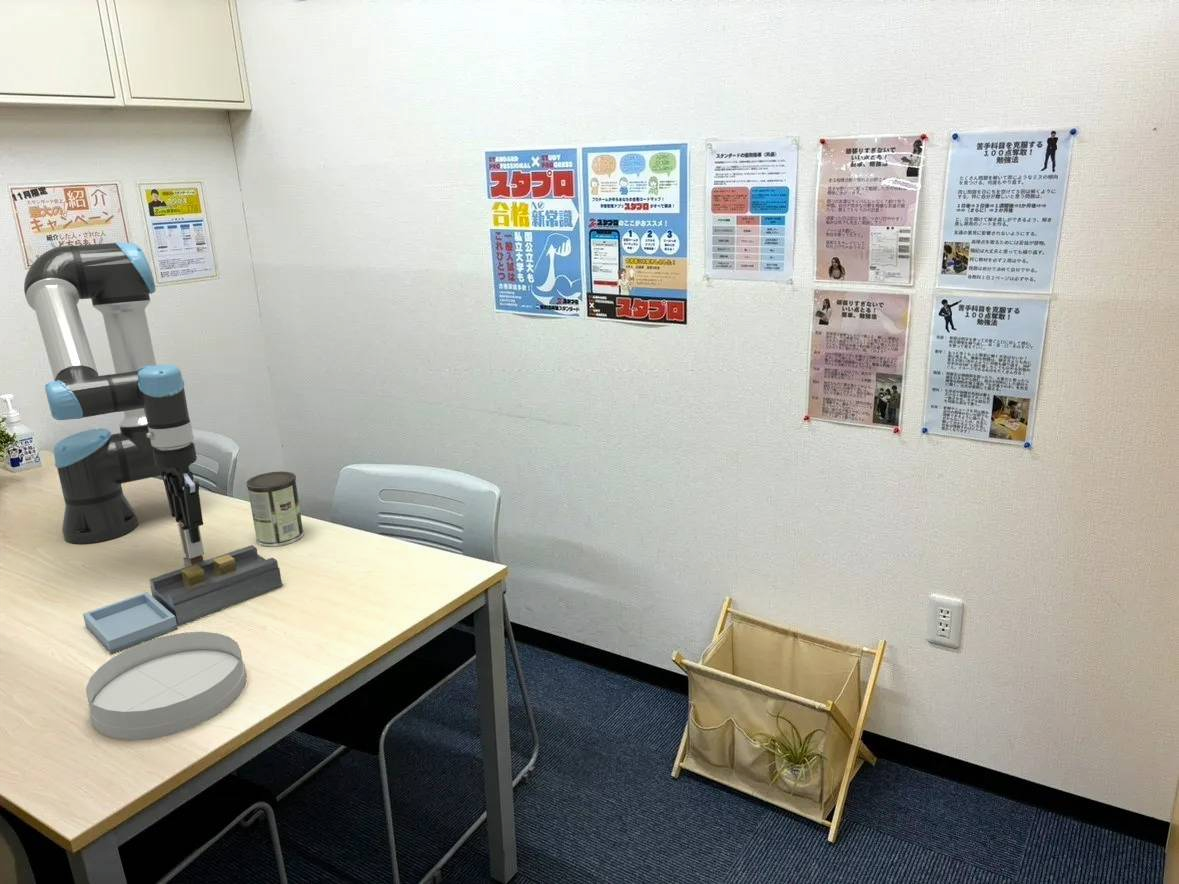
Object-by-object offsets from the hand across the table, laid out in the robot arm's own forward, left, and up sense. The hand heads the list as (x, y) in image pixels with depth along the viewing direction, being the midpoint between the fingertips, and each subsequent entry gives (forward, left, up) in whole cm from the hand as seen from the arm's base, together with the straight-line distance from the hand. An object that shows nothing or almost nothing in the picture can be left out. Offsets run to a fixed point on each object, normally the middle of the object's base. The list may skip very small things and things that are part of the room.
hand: (193, 553), depth 167 cm
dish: (+40, -20, -5) cm, 45 cm away
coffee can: (-4, +20, -5) cm, 21 cm away
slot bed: (+13, -1, -5) cm, 14 cm away
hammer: (0, 0, -5) cm, 5 cm away
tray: (+13, -17, -5) cm, 22 cm away
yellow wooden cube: (+13, -5, -1) cm, 14 cm away
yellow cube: (+13, +1, -1) cm, 13 cm away
